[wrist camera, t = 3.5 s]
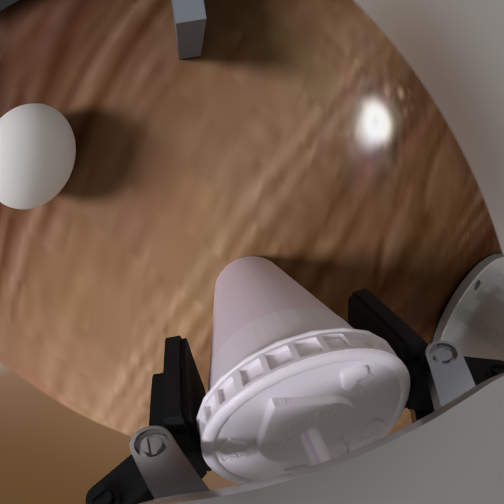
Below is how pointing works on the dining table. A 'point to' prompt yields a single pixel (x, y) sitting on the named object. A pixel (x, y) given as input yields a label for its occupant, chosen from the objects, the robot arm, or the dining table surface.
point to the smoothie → (290, 378)
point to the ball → (34, 155)
